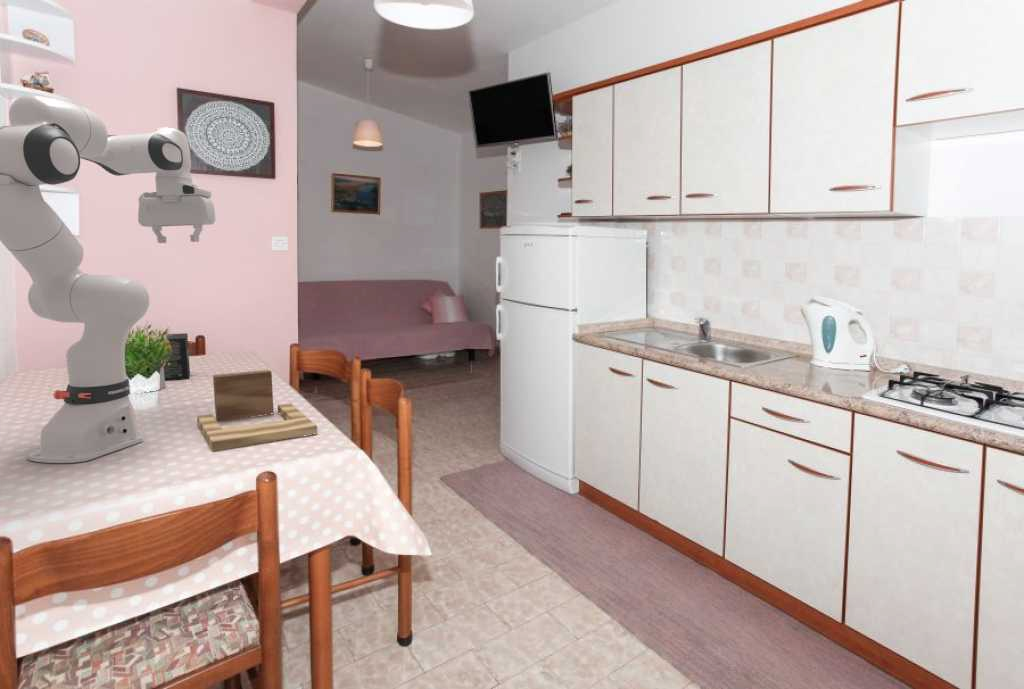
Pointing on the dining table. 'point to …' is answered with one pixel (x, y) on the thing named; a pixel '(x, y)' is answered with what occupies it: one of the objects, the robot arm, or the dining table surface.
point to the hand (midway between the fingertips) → (178, 242)
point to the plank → (243, 394)
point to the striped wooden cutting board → (256, 430)
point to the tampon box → (177, 358)
